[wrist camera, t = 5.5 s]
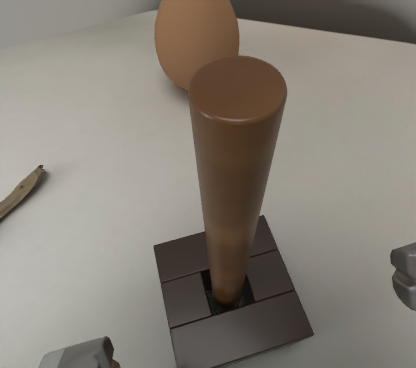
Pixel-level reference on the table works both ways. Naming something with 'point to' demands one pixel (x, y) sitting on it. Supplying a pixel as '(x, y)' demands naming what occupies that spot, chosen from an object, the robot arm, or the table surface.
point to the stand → (233, 319)
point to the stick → (233, 160)
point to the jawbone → (21, 190)
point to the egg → (194, 36)
